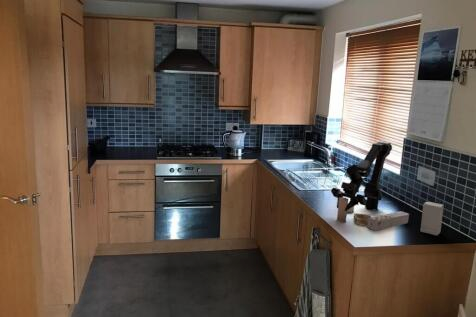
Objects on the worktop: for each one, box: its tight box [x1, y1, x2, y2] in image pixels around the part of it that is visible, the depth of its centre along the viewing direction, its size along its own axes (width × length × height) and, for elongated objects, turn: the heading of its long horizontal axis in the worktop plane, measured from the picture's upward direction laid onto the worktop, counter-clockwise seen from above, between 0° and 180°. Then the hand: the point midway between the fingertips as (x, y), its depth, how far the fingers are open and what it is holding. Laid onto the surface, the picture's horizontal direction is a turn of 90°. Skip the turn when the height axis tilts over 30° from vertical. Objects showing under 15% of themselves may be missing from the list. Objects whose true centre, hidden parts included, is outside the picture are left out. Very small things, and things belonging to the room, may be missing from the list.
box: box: [366, 210, 410, 231], centre depth 211 cm, size 27×5×6 cm, turn 124°
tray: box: [353, 212, 372, 226], centre depth 214 cm, size 9×9×3 cm
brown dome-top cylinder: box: [336, 196, 349, 223], centre depth 213 cm, size 5×5×12 cm
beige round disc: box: [347, 206, 355, 214], centre depth 231 cm, size 8×8×4 cm
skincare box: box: [420, 201, 444, 236], centre depth 204 cm, size 8×6×15 cm
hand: (341, 209), depth 212 cm, fingers closed on brown dome-top cylinder, 5 cm apart
